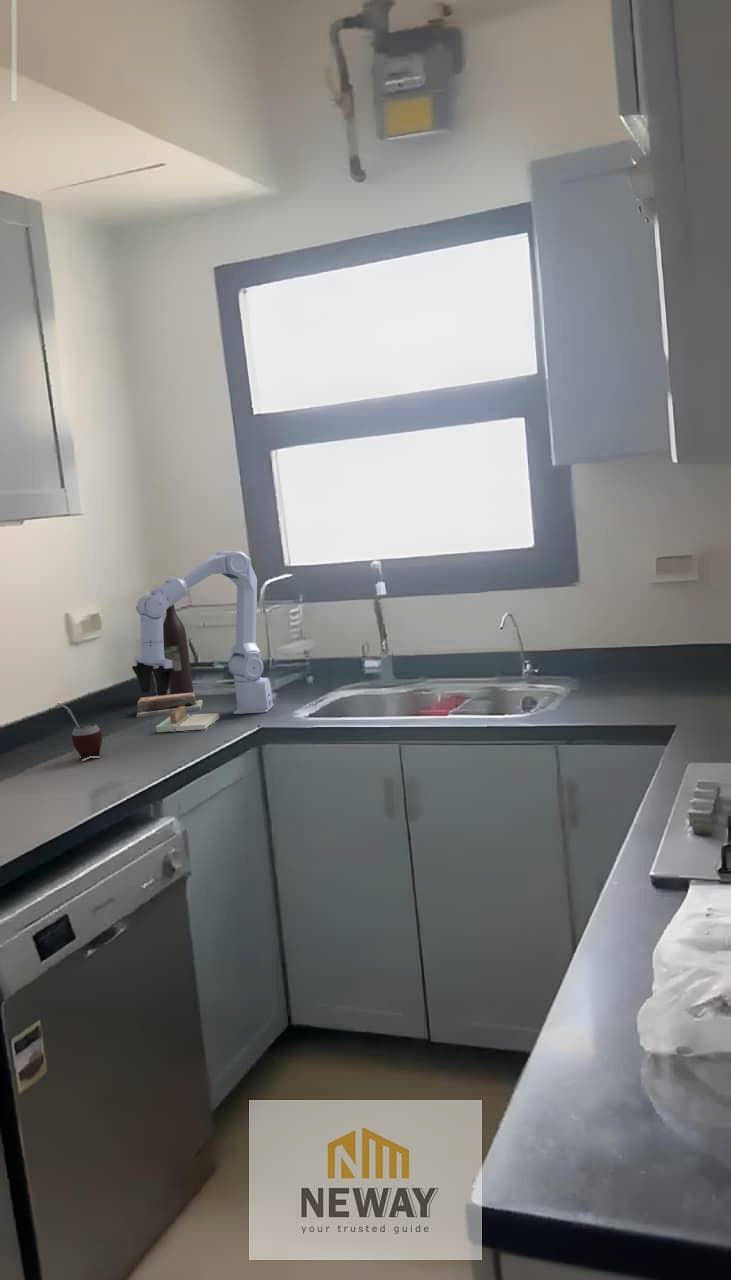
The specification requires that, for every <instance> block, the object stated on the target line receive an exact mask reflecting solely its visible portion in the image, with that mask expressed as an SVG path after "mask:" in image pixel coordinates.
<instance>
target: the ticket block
mask: <svg viewBox="0 0 731 1280" xmlns="http://www.w3.org/2000/svg"><path fill="white" fill-rule="evenodd" d="M219 719H220V713H219V712H216V713H215V712H214V713H213V712H212V713H197V714H196V713H195V714H189V716H188V717H187V718H185V719H184V720H183V721H182V722H180V723H179V724H178V725H176V726H175V728H176V731H184V730H195V729H205V728H207V727H208V726H209V725H211V724H212V723H213V724H215V723H216V722H217V721H218V720H219ZM216 720H217V721H216ZM215 721H216V722H215ZM213 724H212V725H213ZM212 725H211V726H212ZM207 729H208V728H207ZM176 731H175V732H176ZM184 732H185V731H184Z"/></svg>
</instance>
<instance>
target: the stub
mask: <svg viewBox="0 0 731 1280" xmlns="http://www.w3.org/2000/svg"><path fill="white" fill-rule="evenodd" d="M189 715H190V714H189V713H187V712H186V707H185V706H180V707H178V708H177V709H175V710H174V711H173V712H171V713H170V714H169V716H168V717H167V718H166V719H164V720H163V721H162V722H160V723H159V724H158V725H156V726H155V730H156V733H166V732H167V733H168V732H169V731H170V732H171V733H172V732H176V728H175V726H176V725H178V724H179V723H180V722H182V721H183V720H184V719H185V718H187V717H188V716H189Z"/></svg>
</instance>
